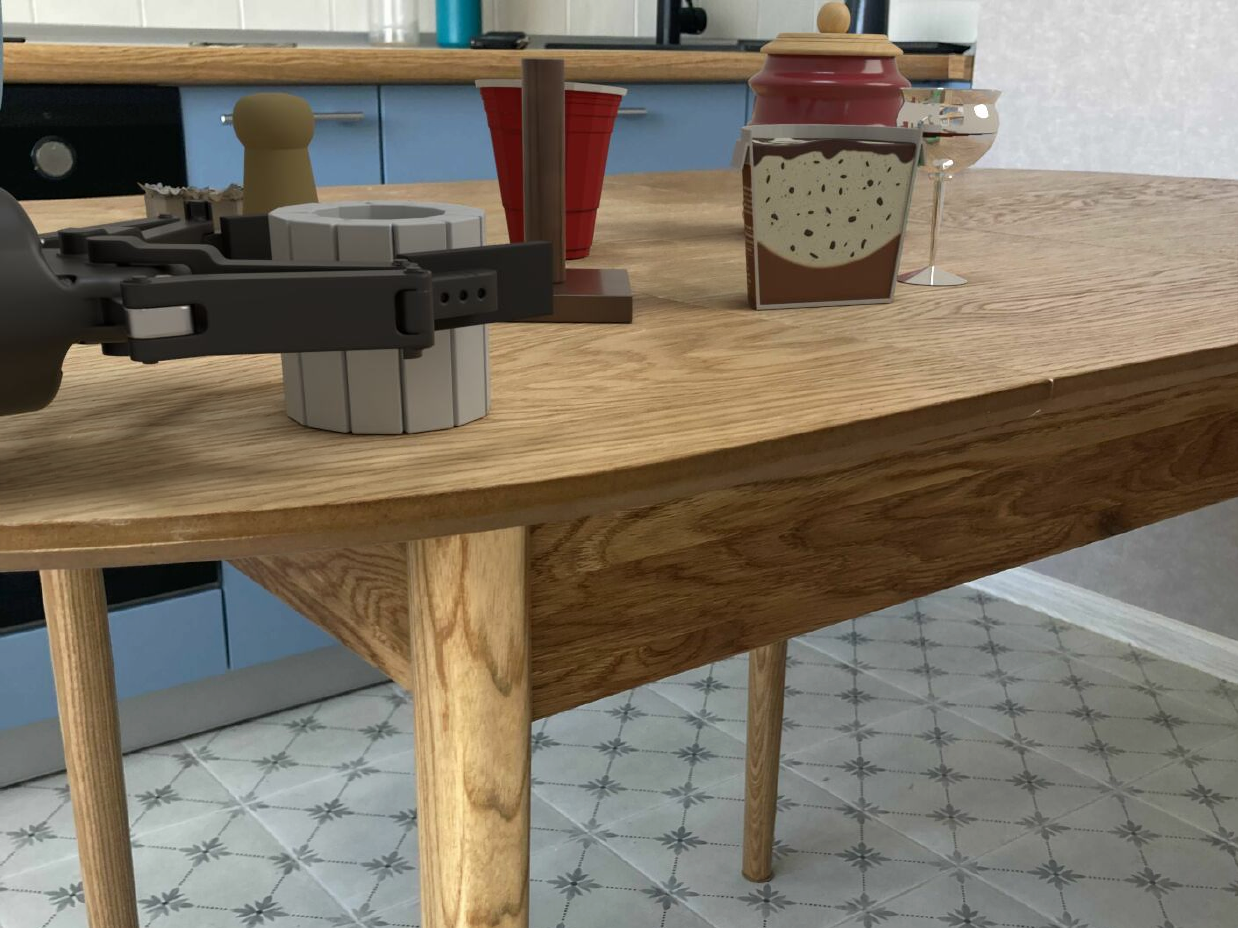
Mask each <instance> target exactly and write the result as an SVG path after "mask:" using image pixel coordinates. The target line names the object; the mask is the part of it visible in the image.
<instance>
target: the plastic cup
mask: <svg viewBox="0 0 1238 928" xmlns="http://www.w3.org/2000/svg"><path fill="white" fill-rule="evenodd" d="M474 83H475V87H476V89H479V94H480V96H481V100H482V102H483V109H484V110H483V111H484V112H485V114H486V115H485V116H486V121H487V122H486V123H487V127H488V129H489V134H490V138H491V140H490V141H491V144H492V151H493V158H494V163H495V169H496V170H495V171H496V175H497V182H498V188H499V193H500V199H501V206H502V207H503V210H504V215H505V216H504V217H505V221H506V227H507V228H506V229H507V234H508V239H509V243H520V242H524V197H523V137H522V79H516V78H515V79H514V78H513V79H512V78H507V79H506V78H485V79H483V78H481V79H475V80H474ZM627 93H628V88H624V87H620V86H614V85H613V86H611V85H604V84H594V83H582V82H574V81H573V82H571V81H565V256H566V260H568V259H570V260H571V259H580V258H583V257H584V258H585V257H588V256H589V255H590V253H591V247H592V245H593V241H594V233H595V227H596V221H597V214H598V209H599V208H600V204H601V198H602V192H603V187H604V186H603V185H604V179H605V173H606V168H607V167H606V166H607V161H608V155H609V149H610V142H611V137H612V133H614V127H615V121H616V118H617V117H618V113H619V112H618V111H619V107H620V106H621V102H623V97H626V96H627Z"/></svg>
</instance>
